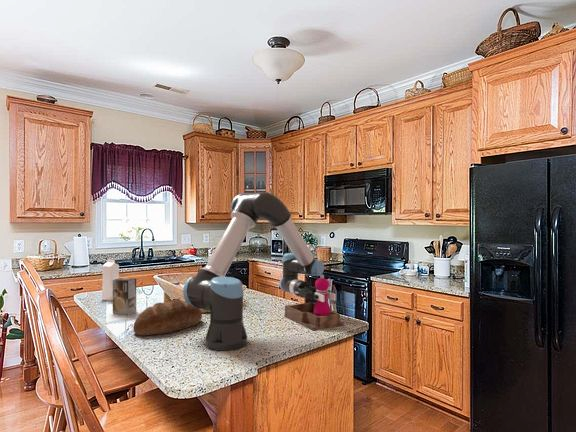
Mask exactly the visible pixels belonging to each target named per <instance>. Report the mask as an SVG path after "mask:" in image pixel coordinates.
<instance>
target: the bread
mask: <svg viewBox="0 0 576 432" xmlns="http://www.w3.org/2000/svg"><path fill="white" fill-rule="evenodd" d="M201 310H202V309H200V308H195V307H193V306H191V305H189V304H188V303H187V302H186V301H185V300H184V301H183V300H181V299H180V298H179V299H173V300H171V301H169V302H165V303H164V302H157V303H154V305H152V306H149V307H146V309H144V310H143V311H142V312H141V313H140V314H139V315H138V316H137V317H136V319H135V321H134V324H133V326H132V328H133V329H132V331H133V332H134V333H135V335H138V336H143V337H144V336H152V335H153V336H154V335H164V334H167V333H172V332H173V333H174V332H176V331H179V330H184V329H188V328H190V327H193V326H195V325H197V324H199V323H200V322H201V321H202V319H203V314H202V311H201Z"/></svg>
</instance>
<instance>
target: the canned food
mask: <svg viewBox="0 0 576 432" xmlns="http://www.w3.org/2000/svg"><path fill="white" fill-rule="evenodd" d="M168 281H169V282H171V283H172V284H175V285H179V286H181V285H180V283H181V282H180V280H168ZM169 301H171V299H170V297H169V296H168V295H167V294H166V293H165V292H164V291H163V303H165V302H169Z"/></svg>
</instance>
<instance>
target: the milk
mask: <svg viewBox="0 0 576 432" xmlns="http://www.w3.org/2000/svg"><path fill="white" fill-rule="evenodd" d="M101 267H102V268H101V269H102V272H101V273H102V275H101V276H102V277H101V278H102V283H101V284H102V286H101V291H102V292H101V296H102V297H101V299H102V301H113V280H115V279H118V278H120V265H119V264H118V263H116V262H115V259H106V262H105V263H104V264H103V265H102V266H101Z"/></svg>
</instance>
